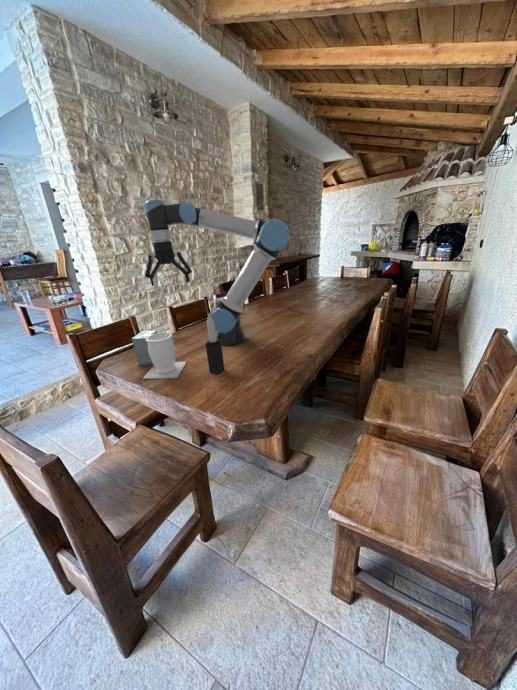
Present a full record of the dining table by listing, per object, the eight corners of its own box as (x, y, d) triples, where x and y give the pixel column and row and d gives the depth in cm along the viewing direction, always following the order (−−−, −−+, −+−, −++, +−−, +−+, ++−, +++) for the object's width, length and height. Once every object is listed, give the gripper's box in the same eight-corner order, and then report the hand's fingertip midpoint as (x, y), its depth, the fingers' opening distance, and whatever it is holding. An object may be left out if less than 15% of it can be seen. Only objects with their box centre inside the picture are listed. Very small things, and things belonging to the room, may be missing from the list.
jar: (171, 375, 112) (163, 341, 107) (148, 374, 114) (140, 341, 109) (182, 364, 122) (176, 331, 116) (161, 363, 124) (154, 332, 118)
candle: (217, 374, 112) (209, 315, 102) (208, 372, 114) (199, 314, 105) (225, 369, 115) (218, 311, 106) (216, 367, 118) (208, 310, 109)
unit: (163, 355, 133) (157, 330, 129) (154, 364, 124) (148, 338, 119) (147, 356, 134) (141, 331, 129) (138, 365, 125) (131, 338, 120)
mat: (186, 362, 124) (186, 361, 124) (176, 378, 111) (176, 376, 111) (156, 363, 125) (156, 362, 125) (143, 379, 112) (142, 377, 112)
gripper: (193, 238, 120) (201, 287, 128) (136, 243, 120) (147, 292, 128) (189, 238, 113) (198, 290, 121) (129, 244, 113) (142, 295, 121)
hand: (172, 291), depth 125 cm, fingers open, 13 cm apart
